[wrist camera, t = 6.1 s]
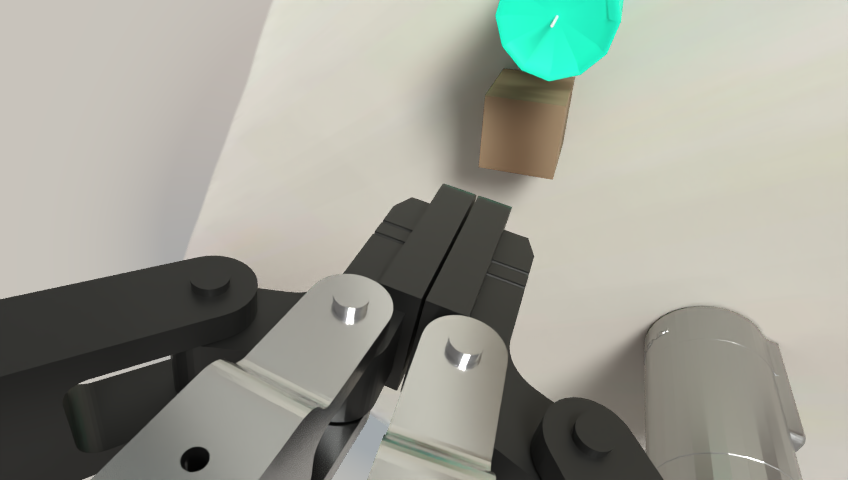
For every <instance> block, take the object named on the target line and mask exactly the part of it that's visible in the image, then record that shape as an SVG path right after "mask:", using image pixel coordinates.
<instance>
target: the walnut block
mask: <svg viewBox="0 0 848 480" xmlns="http://www.w3.org/2000/svg"><path fill="white" fill-rule="evenodd" d="M574 79H575V77H568V78H563V79H558V80H553V81H547V80H544V79H542V78H539V77H537V76H535V75H532V74H530V73H527V72H525V71H520V70H511V69H503V70H502V72H501V73H500V75H499V76H498V77H497V79H496V80H495V82H494V83H493V85H492V86H491V88H490V89H489V91H488V92H487V93H486V95H485V102H484V113H483V124H482V135H481V146H480V157H479V167H481V168H487V169H493V170H499V171H505V172H511V173H517V174H523V175H529V176H535V177H541V178H547V179H553V177H554V173H555V170H556V166H557V163H558V159H559V155H560V152H561V148H562V145H563V140H564V134H565V129H566V123H567V118H568V112H569V107H570V101H571V96H572V90H573V85H574Z"/></svg>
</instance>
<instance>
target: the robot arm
mask: <svg viewBox="0 0 848 480" xmlns="http://www.w3.org/2000/svg"><path fill="white" fill-rule="evenodd" d="M475 200H476V195H475V194H472V193H469V192H466V191H464V190H461V189H458V188H455V187H452V186H449V185H446V184H443V185H442V186H441V187H440V189H439V191H438V192H437V194H436V195H435V197H434V198H433V200H432V201H431V203H430V204H429V203H427V202H424V201H421V200H418V199H415V198H410V199H408V200H405V201H403V202H401V203H399V204H397V205H395V206H394V207H393V208H392V209H391V211H390V212H389V213H388V215H387V216H386V217H385V219H384V220H383V223H381V224H380V225H379V227H378V228H377V229H376V231H375V233H374V234H373V235H372V236H371V237H370V239H369V240H368V241H367V243H366V244H365V245H364V247H363V248H362V249H361V251H360V252H359V253H358V255H357V256H356V257H355V259H354V260H353V261H352V263H351V264H350V265H349V267H348V268H347V269H346V271H345V272H344V273H343V274H338V275H333V276H329V277H326V278H324V279H322V280H320V281H318V282H317V283H316V284H315V285H314V286H313V287H312V288H311V289H310V290H309V291H308V292H302V293H294V292H284V291H276V290H268V289H260V288H258V283H257V278H256V275H255V273H254V272H253V271H252V269H251V268H249V267H248V266H247V265H246V264H244V263H243V262H241V261H238V260H236V259H233V258H229V257H224V256H203V257H197V258H193V259H188V260H183V261H179V262H174V263H170V264H164V265H160V266H155V267H150V268H146V269H141V270H136V271H132V272H127V273H122V274H118V275H113V276H109V277H104V278H99V279H94V280H90V281H85V282H80V283H76V284H71V285H66V286H61V287H57V288H52V289H47V290H43V291H38V292H33V293H28V294H24V295H19V296H14V297H10V298H5V299H0V480H82V479H85V478H88V477H90V476H92V475H95V474H96V475H95V476H94V477H93V478H92V479H91V480H331V479H332V477H333V476H334V474H335V473H336V471H337V469H338V468H339V466H340V465H341V463H342V461H343V459H344V458H345V456H346V455H347V453H348V452H349V450H350V448H351V447H352V445H353V443H354V442H355V440H356V438H357V437H358V435H359V434H360V432H361V430H362V429H363V427H364V425H365V424H366V422H367V420H368V418H369V414H370V410H371V409H372V407H373V406H374V404H375V403H376V401H377V399H378V397H379V395H380V393H381V391H382V389H383V387H384V386H387V387H389V388H392V389H394V390H397V389H398V387H399V385H400V383H401V381H402V379H403V377H404V375H405V377H404V381H403V384H402V388H401V394H400V397H399V400H398V403H397V406H396V408H395V411H394V414H393V417H392V419H391V422H390V425H389V428H388V430H387V433H386V435H384V436H383V439H382V441H381V444H380V446H379V449H378V452H377V454H376V457H375V460H374V462H373V465H372V468H371V471H370V474H369V476H368V479H367V480H802V476H801V472H800V468H799V465H798V461H797V457H796V454H795V452H797V451H798V450H799V449H800V448H801V447H802V446H803V445H804V443H805V440H806V438H805V434H804V430H803V427H802V424H801V420H800V417H799V413H798V410H797V407H796V403H795V400H794V397H793V393H792V390H791V386H790V383H789V380H788V376H787V373H786V369H785V366H784V363H783V359H782V356H781V352H780V349H779V346H778V344H777V343H774V342H772V341H769V340H767V339H766V338H765V337H764V336H763V334H762V333H761V332H760V330H759V329H758V327H757V326H756V325H754V324H753V323H752V322H751V321H750V320H749V319H747V318H745V317H743V316H742V315H740V314H738V313H735V312H733V311H730V310H727V309H722V308H717V307H707V306H697V307H688V308H684V309H680V310H676V311H673V312H671V313H669V314H667V315H665V316H663V317H662V318H660V319H659V320H658V321H656V322H655V323H654V324H653V326H652V327H651V328H650V329H649V331H648V333H647V335H646V338H645V345H644V365H645V435H646V453H645V451H644V450H643V448H642V447H641V445H640V444H639V442H638V441H637V439H636V438H635V437H634V435H633V434H632V432H631V431H630V429H629V428H628V427H627V425H626V424H625V423H624V422H623V421H622V420H621V419H620V418H619V417H618V416H617V415H616V414H614V413H613V412H612V411H611V410H609V409H607V408H606V407H604V406H603V405H601V404H598V403H596V402H594V401H591V400H588V399H583V398H574V397H572V398H564V399H561V400H558V401H557V402H555V403H554V402H552V401H551V400H549V399H548V398H547V397H545V396H544V395H543V394H541V393H540V392H538V391H537V390H536V389H534V388H533V387H532V386H531V385H529V384H528V383H527V382H526V381H525V380H524V379H523V377H522V376H521V375H520V374H519V372H518V371H517V369H516V368H515V366H514V364H513V361H512V359H511V355H510V347H509V345H510V340H511V336H512V333H513V329H514V325H515V322H516V318H517V315H518V311H519V308H520V304H521V301H522V297H523V294H524V289H525V286H526V283H527V279H528V275H529V272H530V269H531V265H532V262H533V258H534V255H533V252H532V249H531V246H530V243H529V240H528V238H526V237H523V236H520V235H517V234H514V233H511V232H509V231H506V230H504V229H505V226H506V223H507V220H508V217H509V214H510V212H511V209H512V207H510V206H507V205H504V204H501V203H498V202H496V201H493V200H490V199H487V198H484V197H481V196H478V198H477V200H476V202H475ZM169 355H170V356H171V359H169V360H166V361H163V362H159V363H156V364H152V365H149V366H146V367H142V368H139V369H136V370H132V371H129V372H126V373H123V374H119V375H116V376H113V377H109V378H106V379H103V380H99V381H96V382H93V383H89V384H79V383H81V382H83V381H85V380H88V379H92V378H95V377H98V376H102V375H105V374H108V373H112V372H115V371H118V370H122V369H125V368H129V367H132V366H135V365H138V364H142V363H146V362H149V361H152V360H155V359H159V358H162V357H166V356H169Z"/></svg>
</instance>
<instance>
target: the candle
mask: <svg viewBox="0 0 848 480" xmlns="http://www.w3.org/2000/svg"><path fill="white" fill-rule="evenodd" d="M622 8H623V0H500V2H499V5H498V8H497V12H496V15H495V16H496V21H497V25H498V30H499V34H500V39H501V44H502V47H503V48H504V49H505V50H506V52H507V53H508V54H509V55H510V57H511V58H512V59H513V60H514V62H515V63H516V64H517V65H518V67H519V68H520V69H521V70H522V71H525V72H527V73H530V74H532V75H535V76H537V77H539V78H542V79H544V80H547V81H553V80H558V79H563V78H568V77H572V76H577V75H581V74H582V73H583V72H585V71H586V70H587V69H588V68H590V67H591V66H592V65H594V64H595V63H596V62H597V61H599V60H600V59H601V58H602V57H604V56H605V55H606V54H607V52H608V50H609V48H610V45H611V43H612V41H613V39H614V36H615V34H616V32H617V29H618V27H619V25H620V22H621V16H622Z"/></svg>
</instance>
